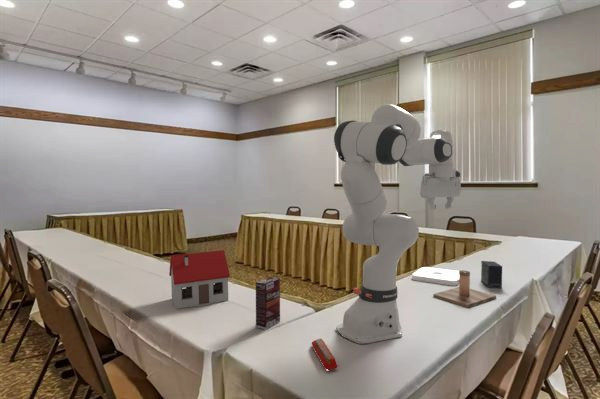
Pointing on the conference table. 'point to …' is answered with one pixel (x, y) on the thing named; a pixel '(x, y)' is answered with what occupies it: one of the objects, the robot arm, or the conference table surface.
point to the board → (464, 297)
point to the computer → (437, 276)
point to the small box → (491, 274)
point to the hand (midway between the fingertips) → (440, 208)
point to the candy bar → (324, 354)
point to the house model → (199, 278)
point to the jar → (464, 283)
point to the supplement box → (267, 302)
